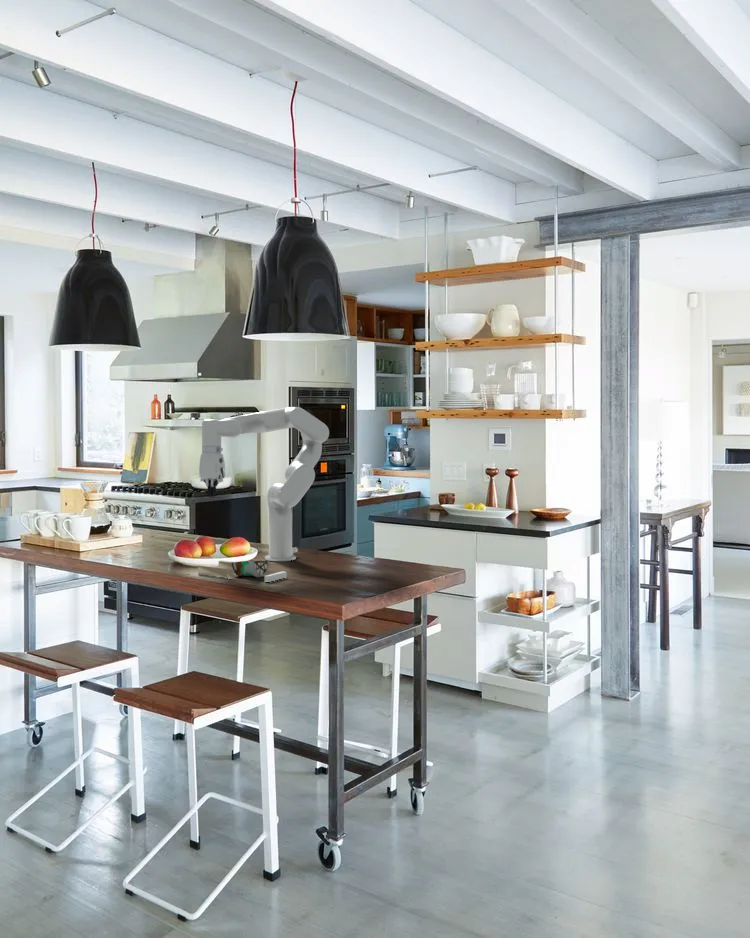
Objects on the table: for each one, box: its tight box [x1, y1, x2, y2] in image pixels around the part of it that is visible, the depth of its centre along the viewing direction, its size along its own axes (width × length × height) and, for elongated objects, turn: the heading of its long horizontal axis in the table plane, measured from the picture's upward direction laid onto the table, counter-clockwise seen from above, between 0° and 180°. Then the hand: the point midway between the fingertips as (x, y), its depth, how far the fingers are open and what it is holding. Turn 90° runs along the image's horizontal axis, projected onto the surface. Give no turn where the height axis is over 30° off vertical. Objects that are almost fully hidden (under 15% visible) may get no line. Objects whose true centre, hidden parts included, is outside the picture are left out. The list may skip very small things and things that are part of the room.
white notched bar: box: [264, 571, 287, 583], centre depth 329 cm, size 11×2×2 cm, turn 149°
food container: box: [231, 559, 270, 578], centre depth 335 cm, size 12×6×10 cm
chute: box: [197, 560, 235, 580], centre depth 340 cm, size 17×18×4 cm
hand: (211, 496), depth 360 cm, fingers closed
